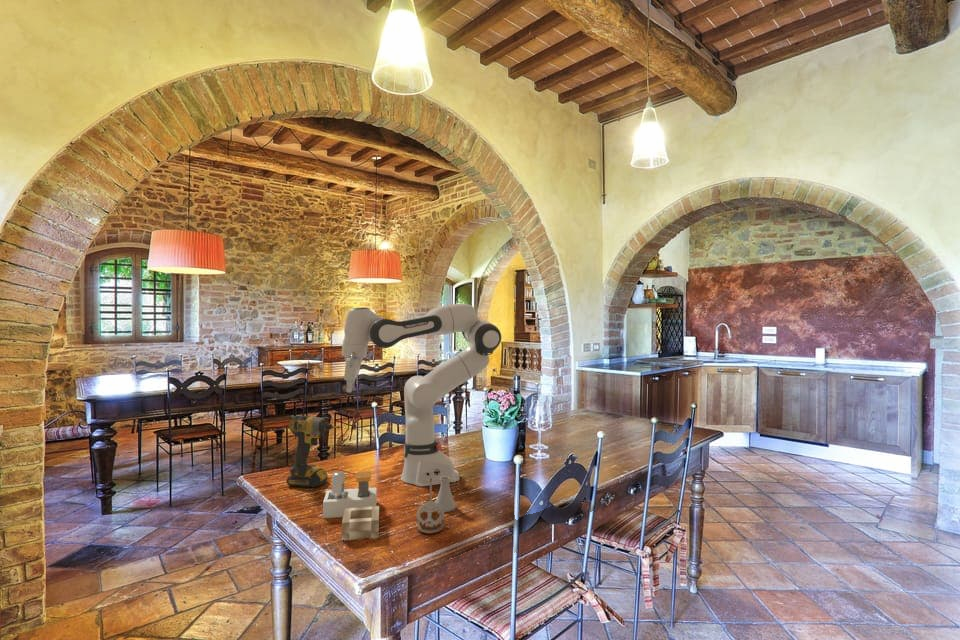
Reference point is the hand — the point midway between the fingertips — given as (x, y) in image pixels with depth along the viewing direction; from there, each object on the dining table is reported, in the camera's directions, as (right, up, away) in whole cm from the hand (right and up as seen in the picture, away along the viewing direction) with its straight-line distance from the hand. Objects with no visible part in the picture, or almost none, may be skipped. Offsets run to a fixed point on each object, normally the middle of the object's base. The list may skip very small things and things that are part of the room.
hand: (350, 389), depth 169 cm
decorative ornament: (+32, -37, -30) cm, 57 cm away
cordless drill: (-15, -36, +5) cm, 39 cm away
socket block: (+5, -36, -17) cm, 40 cm away
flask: (+35, -37, -15) cm, 53 cm away
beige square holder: (+12, -36, -32) cm, 50 cm away
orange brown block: (+9, -32, -17) cm, 37 cm away
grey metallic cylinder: (+1, -36, -18) cm, 40 cm away
